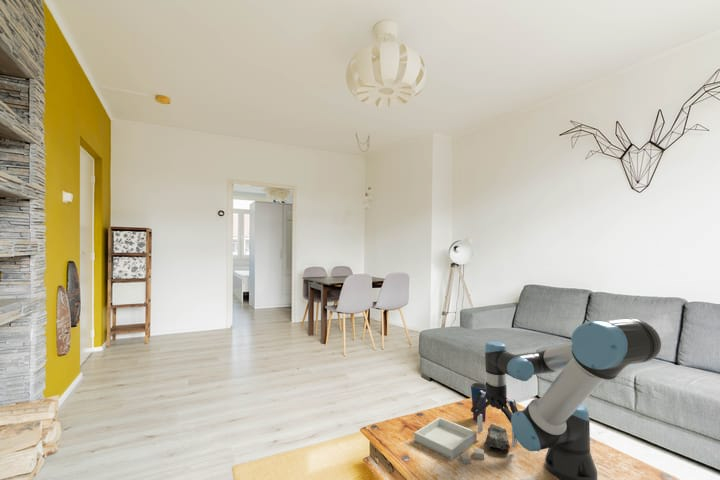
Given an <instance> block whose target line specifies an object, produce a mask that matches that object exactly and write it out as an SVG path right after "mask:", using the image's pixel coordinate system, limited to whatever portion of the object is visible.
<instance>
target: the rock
mask: <svg viewBox="0 0 720 480" xmlns="http://www.w3.org/2000/svg"><path fill="white" fill-rule="evenodd" d="M487 431H488V432H487V434H486V439H485V441H484V445H485V446H486V448H487V449H488V450H492V448H497V449H500V450H502V451H503V450H511V448H510V447H511V446H510V443H509V442H510V441H509V438H508V434H507V429H506V428H503V427H501V426H498V425H495V424H493V423H491V424H490V425H489V427H488V429H487ZM491 447H492V448H491Z"/></svg>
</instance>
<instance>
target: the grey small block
mask: <svg viewBox="0 0 720 480" xmlns="http://www.w3.org/2000/svg"><path fill="white" fill-rule="evenodd" d="M473 458H474V459H480V460H485V451H484V449H479V448H473Z"/></svg>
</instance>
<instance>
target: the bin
mask: <svg viewBox="0 0 720 480" xmlns="http://www.w3.org/2000/svg"><path fill="white" fill-rule="evenodd" d="M413 434H414V435H413V436H414V439H413V440H414V441H413V442H415V443H416V444H419V445H421V446H423V447H424V448H427V449H429V450H431V451H433V452H435V453H437V454H439V455H441V456H444V457H445V458H448V459H449V460H452V461H453V460H454V459H456V458H457V457H458V456H460V454H463V452H464V451H466V450H467V449H468V448H469V447H471V446H472V445H473V444H475V443H476V442H477V441H478V440H477V439H478V438H477V431H475V430H473V429H470V428H468V427H465V426H463V425H460V424H458V423H455V422H453V421H451V420H448V419H446V418H443V417H437V418H435V419H434V420H433V421H431V422H429V423H428V424H426V425H424V426H423V427H421V428H419V429H418V430H416V431H415V432H413Z"/></svg>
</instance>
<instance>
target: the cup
mask: <svg viewBox="0 0 720 480" xmlns="http://www.w3.org/2000/svg"><path fill="white" fill-rule="evenodd" d="M481 390H483V391H484V392H485V393H486V383H485V384H484V383H482V382H471V384H470V392H471V404H472V406H473V405H474V403H475V401H476V399H477V397H478V392H479V391H481ZM486 402H487V399H486V397H485V396H484V397H483V398H482V400H481V402H480V404H479V406H478V407H477V410H478V409H479V408H480V407H482V406H483V405H484V404H485V403H486ZM472 406H471V407H472ZM480 414H482V420H483V423H484V422H486V414H487V407H486V408H485V409H484V410H483V411H482V412H481V413H480ZM472 415H473V417H472V418H473V420H474V421H475V422H476V415H475V413H474V412H472Z"/></svg>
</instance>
